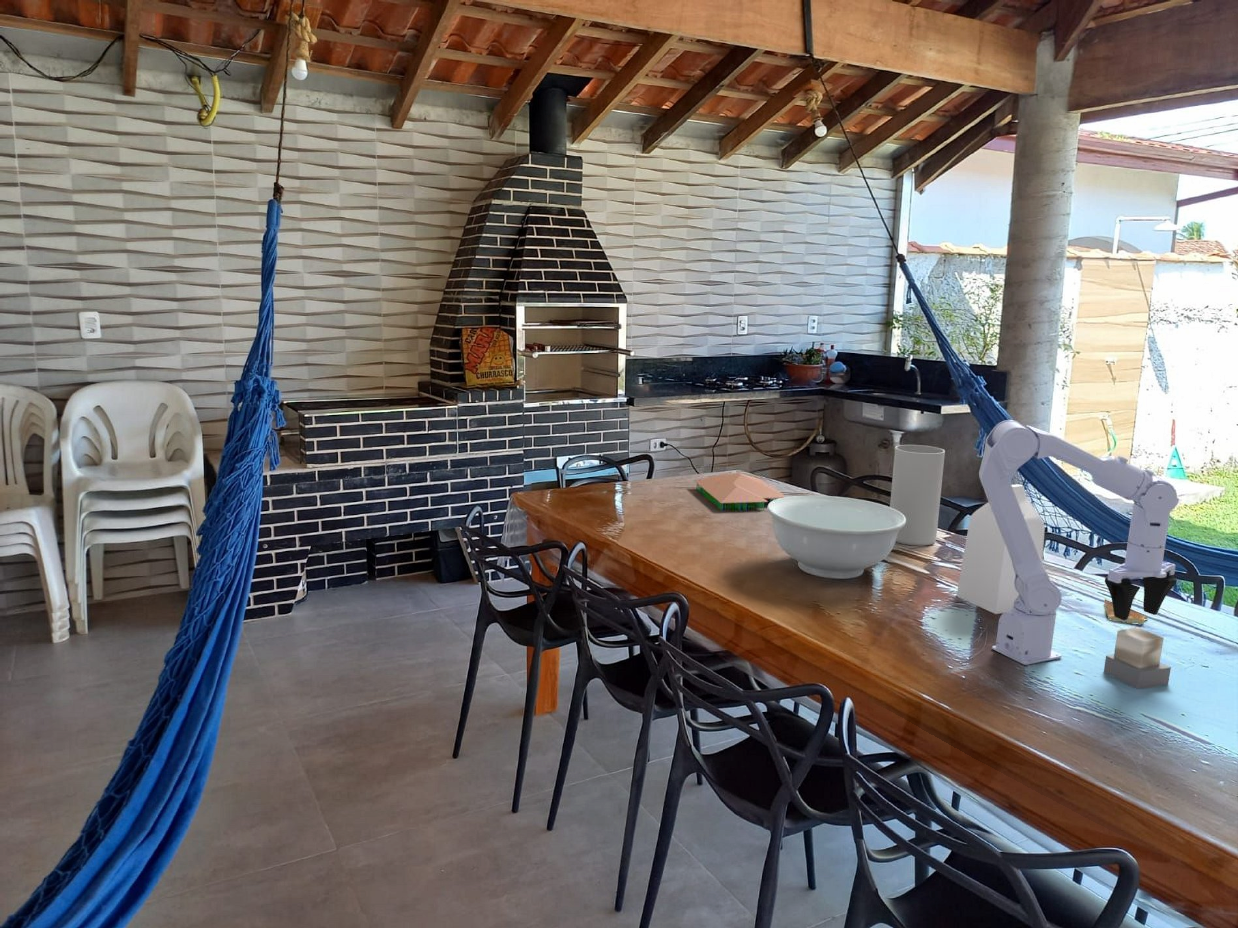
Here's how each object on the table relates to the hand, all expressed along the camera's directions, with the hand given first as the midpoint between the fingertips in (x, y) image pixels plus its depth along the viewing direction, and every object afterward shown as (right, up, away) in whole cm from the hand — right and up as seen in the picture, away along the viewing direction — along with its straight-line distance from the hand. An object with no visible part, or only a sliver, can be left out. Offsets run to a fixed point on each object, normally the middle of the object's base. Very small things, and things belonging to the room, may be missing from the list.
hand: (1135, 615), depth 157 cm
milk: (-11, -3, +33) cm, 35 cm away
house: (-55, +16, +120) cm, 133 cm away
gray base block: (-2, -11, -4) cm, 12 cm away
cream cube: (-2, -7, -4) cm, 9 cm away
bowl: (-42, +2, +52) cm, 67 cm away
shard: (+11, -5, +26) cm, 29 cm away
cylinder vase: (-14, +7, +78) cm, 80 cm away
